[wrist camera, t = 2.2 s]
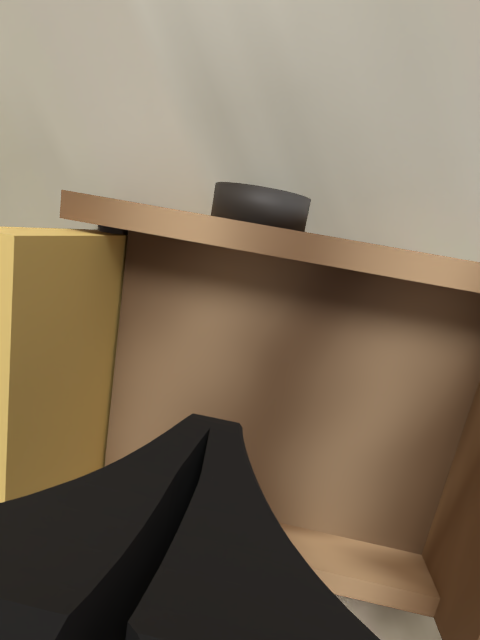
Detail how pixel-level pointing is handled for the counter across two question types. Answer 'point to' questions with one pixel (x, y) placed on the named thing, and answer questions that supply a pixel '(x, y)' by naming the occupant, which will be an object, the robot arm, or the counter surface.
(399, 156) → the counter surface
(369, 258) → the brown wooden drawer
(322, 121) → the counter surface
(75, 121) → the counter surface
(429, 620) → the counter surface
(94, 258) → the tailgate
